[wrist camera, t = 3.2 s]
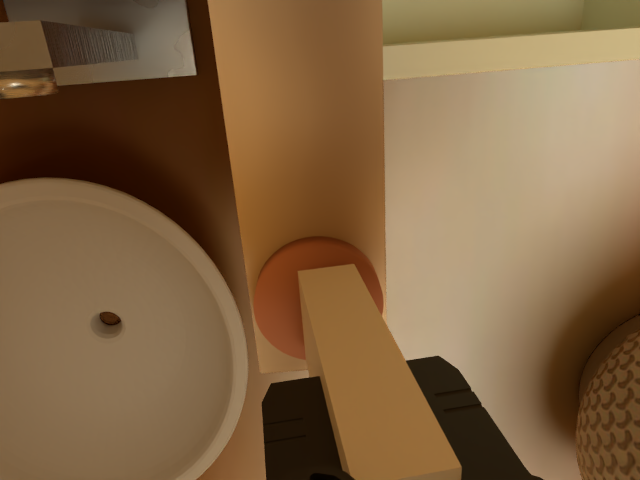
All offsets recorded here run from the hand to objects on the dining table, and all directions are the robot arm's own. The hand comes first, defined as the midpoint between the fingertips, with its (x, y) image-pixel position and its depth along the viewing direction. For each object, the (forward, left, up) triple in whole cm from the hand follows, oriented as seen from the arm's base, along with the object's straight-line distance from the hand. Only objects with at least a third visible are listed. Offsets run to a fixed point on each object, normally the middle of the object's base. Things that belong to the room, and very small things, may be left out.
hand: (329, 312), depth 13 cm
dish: (-10, -6, -13) cm, 17 cm away
